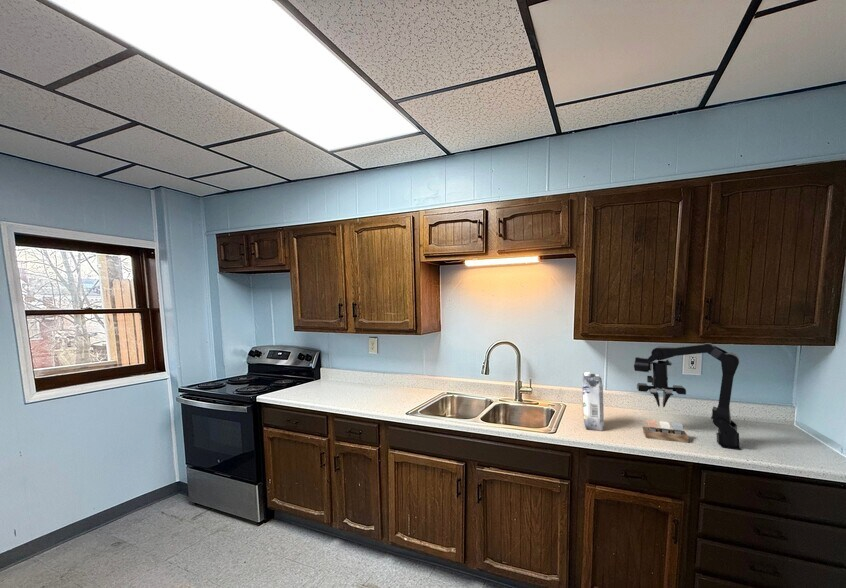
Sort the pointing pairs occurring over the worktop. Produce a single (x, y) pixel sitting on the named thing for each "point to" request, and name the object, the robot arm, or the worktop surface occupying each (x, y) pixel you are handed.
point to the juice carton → (592, 401)
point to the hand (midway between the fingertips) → (661, 406)
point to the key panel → (666, 435)
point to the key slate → (677, 428)
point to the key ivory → (664, 426)
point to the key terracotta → (652, 425)
